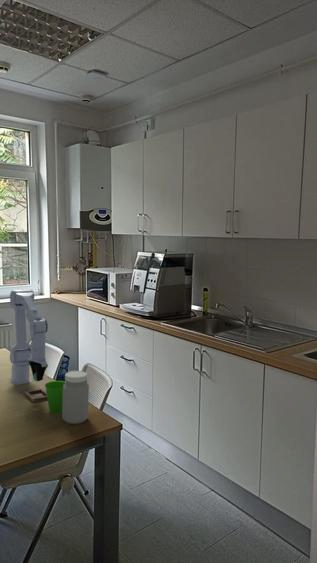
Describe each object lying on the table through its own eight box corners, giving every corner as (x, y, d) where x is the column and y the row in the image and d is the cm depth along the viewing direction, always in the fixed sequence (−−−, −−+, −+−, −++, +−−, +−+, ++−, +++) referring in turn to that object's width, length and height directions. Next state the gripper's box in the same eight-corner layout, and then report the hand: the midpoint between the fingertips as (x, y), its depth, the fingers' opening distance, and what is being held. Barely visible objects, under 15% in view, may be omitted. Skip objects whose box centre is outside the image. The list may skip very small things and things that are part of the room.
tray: (24, 395, 179) (24, 391, 179) (42, 392, 184) (42, 388, 184) (32, 403, 171) (32, 399, 171) (51, 399, 176) (51, 395, 176)
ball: (31, 380, 177) (31, 371, 177) (40, 378, 180) (40, 369, 179) (34, 383, 174) (35, 374, 174) (43, 381, 177) (44, 373, 176)
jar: (60, 415, 161) (61, 370, 159) (85, 412, 164) (86, 369, 162) (64, 426, 152) (65, 379, 150) (90, 423, 155) (91, 377, 153)
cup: (70, 407, 169) (71, 381, 168) (63, 416, 160) (63, 389, 159) (49, 405, 170) (49, 379, 169) (40, 414, 161) (41, 387, 160)
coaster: (17, 391, 183) (17, 391, 183) (28, 389, 186) (28, 388, 186) (21, 395, 179) (21, 394, 179) (32, 393, 182) (32, 392, 182)
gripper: (23, 345, 179) (22, 375, 180) (35, 353, 167) (35, 385, 169) (38, 343, 183) (38, 372, 184) (51, 350, 172) (51, 382, 173)
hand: (37, 378), depth 177 cm, fingers closed on ball, 4 cm apart
